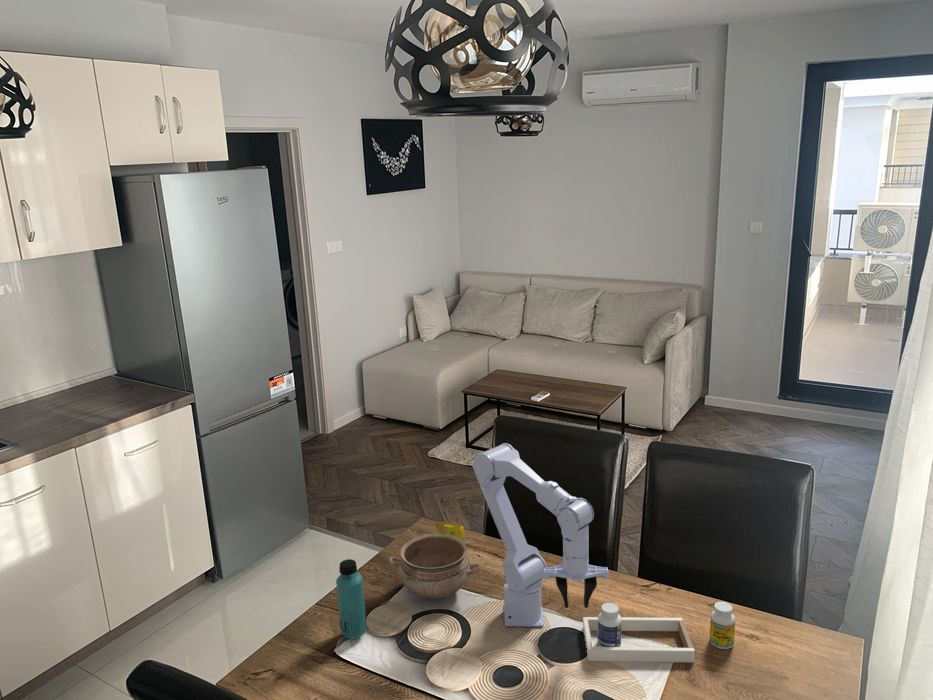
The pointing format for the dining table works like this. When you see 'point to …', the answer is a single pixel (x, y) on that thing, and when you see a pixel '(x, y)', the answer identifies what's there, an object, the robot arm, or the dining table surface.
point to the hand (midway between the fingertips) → (576, 605)
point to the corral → (641, 652)
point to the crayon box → (451, 529)
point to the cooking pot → (434, 565)
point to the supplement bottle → (722, 626)
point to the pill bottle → (609, 626)
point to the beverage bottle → (351, 600)
